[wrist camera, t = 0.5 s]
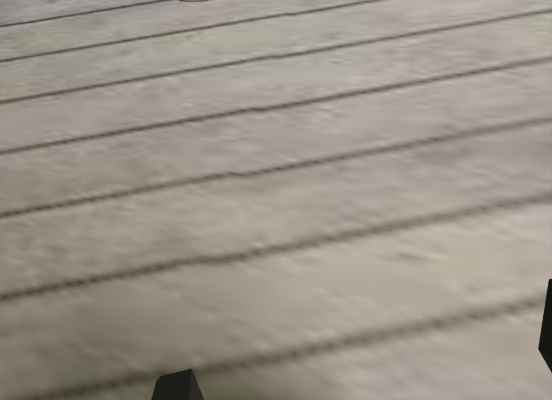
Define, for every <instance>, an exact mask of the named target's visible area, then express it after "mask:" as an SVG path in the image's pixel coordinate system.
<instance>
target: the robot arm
mask: <svg viewBox="0 0 552 400" xmlns="http://www.w3.org/2000/svg"><path fill="white" fill-rule="evenodd" d="M538 350H539V351H540V353H541V355H542V357H543V358H544V360H545V362H546V363H547V365H548V367H549V369H550V370H551V372H552V279H549V282H548V289H547V295H546V302H545V308H544V315H543V321H542V328H541V334H540V341H539V347H538ZM151 400H204V399H203V396H202V394H201V391H200V389H199V386H198V383H197V381H196V378H195V376H194V373H193V371H192V369H188V370H184V371H180V372H176V373H172V374H168V375H164V376H160V378H159V379H158V380H157V381H156V385H155V389H154V392H153V396H152V399H151Z"/></svg>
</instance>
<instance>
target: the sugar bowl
mask: <svg viewBox="0 0 552 400" xmlns="http://www.w3.org/2000/svg"><path fill="white" fill-rule="evenodd" d="M181 1H191V2H195V1H207V0H181Z"/></svg>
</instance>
